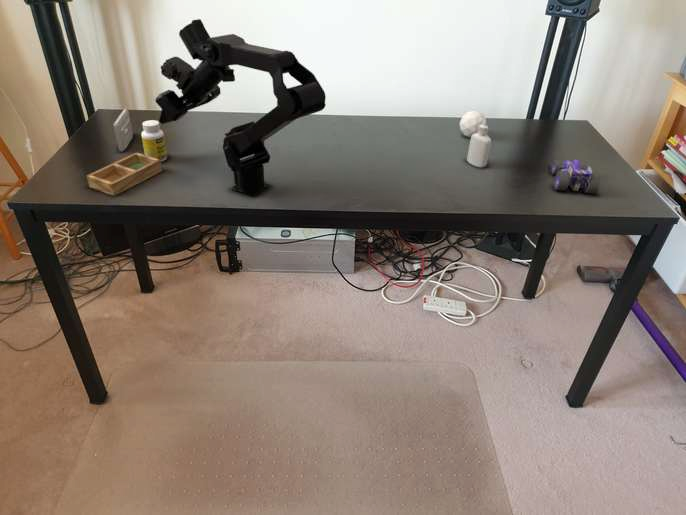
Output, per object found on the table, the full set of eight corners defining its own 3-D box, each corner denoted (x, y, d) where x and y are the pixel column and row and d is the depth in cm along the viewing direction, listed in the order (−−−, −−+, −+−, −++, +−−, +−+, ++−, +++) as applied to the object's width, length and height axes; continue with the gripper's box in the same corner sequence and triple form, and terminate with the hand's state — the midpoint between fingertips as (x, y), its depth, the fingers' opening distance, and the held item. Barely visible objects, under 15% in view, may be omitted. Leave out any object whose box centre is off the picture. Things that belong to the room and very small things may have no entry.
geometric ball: (462, 144, 160) (450, 120, 159) (483, 132, 162) (472, 108, 160) (473, 141, 153) (461, 116, 152) (495, 128, 154) (484, 103, 153)
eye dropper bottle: (480, 159, 146) (489, 117, 139) (487, 168, 141) (496, 125, 134) (465, 159, 145) (473, 117, 138) (471, 168, 141) (480, 125, 134)
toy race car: (581, 170, 142) (589, 148, 138) (595, 197, 130) (604, 173, 126) (545, 167, 143) (552, 144, 139) (556, 193, 131) (563, 169, 127)
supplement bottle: (161, 164, 135) (155, 128, 129) (141, 161, 136) (134, 125, 130) (171, 155, 139) (165, 120, 134) (152, 153, 140) (145, 117, 134)
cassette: (124, 152, 140) (118, 124, 136) (117, 152, 140) (111, 124, 135) (135, 134, 150) (129, 108, 145) (128, 134, 150) (122, 108, 145)
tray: (162, 170, 132) (160, 159, 130) (114, 196, 121) (111, 184, 119) (138, 163, 135) (136, 152, 133) (89, 187, 124) (86, 175, 122)
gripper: (204, 38, 124) (171, 78, 134) (155, 57, 110) (122, 101, 119) (236, 76, 127) (202, 113, 136) (192, 100, 113) (157, 139, 122)
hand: (172, 116), depth 128 cm, fingers open, 9 cm apart
